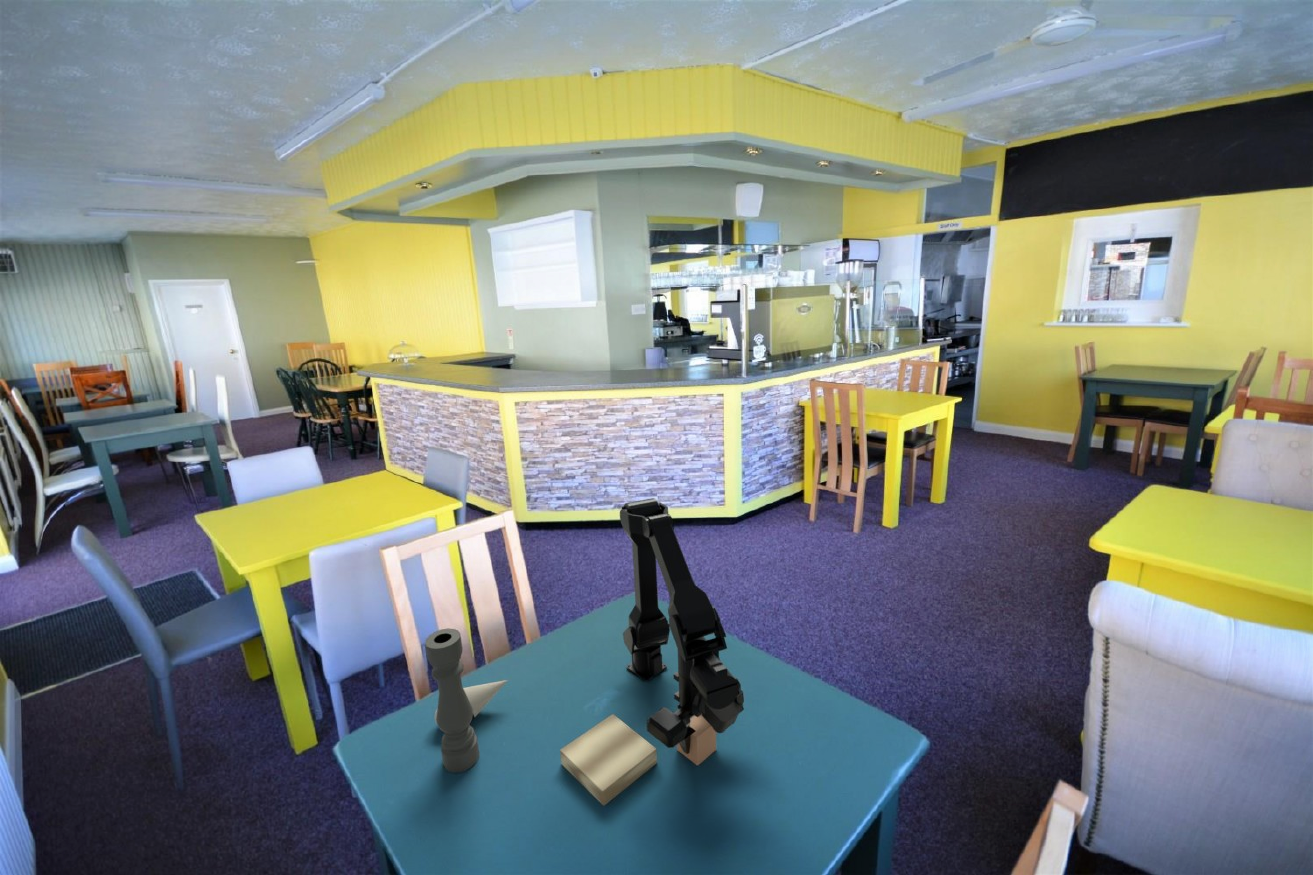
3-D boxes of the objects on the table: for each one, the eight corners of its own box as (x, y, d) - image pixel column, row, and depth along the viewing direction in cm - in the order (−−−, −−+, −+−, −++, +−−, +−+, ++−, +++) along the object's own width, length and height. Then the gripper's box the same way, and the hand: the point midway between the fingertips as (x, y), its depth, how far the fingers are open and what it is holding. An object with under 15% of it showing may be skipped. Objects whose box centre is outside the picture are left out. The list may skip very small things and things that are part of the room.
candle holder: (486, 757, 104) (468, 636, 97) (454, 778, 99) (434, 654, 93) (468, 739, 108) (450, 623, 101) (437, 759, 103) (416, 639, 97)
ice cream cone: (514, 696, 118) (442, 739, 111) (502, 670, 121) (430, 710, 114) (515, 689, 113) (440, 733, 106) (502, 662, 116) (427, 703, 109)
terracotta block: (677, 749, 104) (676, 722, 102) (695, 734, 107) (695, 707, 105) (697, 765, 100) (696, 737, 98) (716, 749, 103) (716, 721, 102)
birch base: (561, 763, 102) (560, 749, 101) (613, 726, 109) (612, 713, 109) (603, 805, 93) (602, 791, 92) (657, 762, 101) (656, 748, 100)
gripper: (692, 723, 87) (694, 804, 91) (765, 665, 99) (764, 739, 104) (642, 688, 95) (646, 764, 99) (716, 638, 107) (717, 708, 111)
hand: (696, 743), depth 103 cm, fingers closed on terracotta block, 5 cm apart
